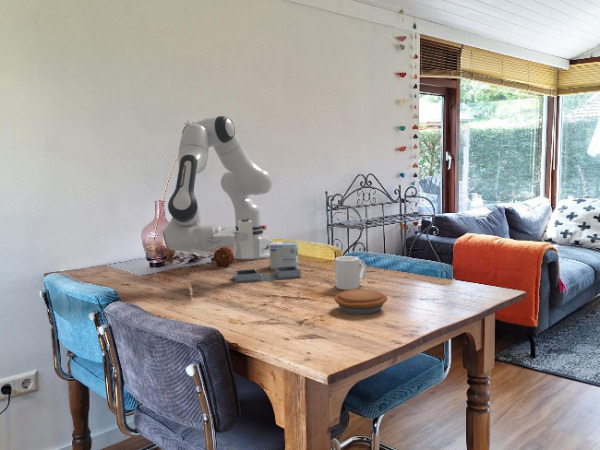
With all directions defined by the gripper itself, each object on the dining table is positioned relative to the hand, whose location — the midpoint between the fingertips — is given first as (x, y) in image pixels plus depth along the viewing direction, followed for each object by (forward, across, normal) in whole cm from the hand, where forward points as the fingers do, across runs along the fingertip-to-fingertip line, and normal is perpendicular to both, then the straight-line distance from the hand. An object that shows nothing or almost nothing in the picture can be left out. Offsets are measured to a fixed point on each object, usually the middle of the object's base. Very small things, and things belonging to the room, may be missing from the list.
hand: (248, 235), depth 204 cm
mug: (+35, -14, +17) cm, 42 cm away
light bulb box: (+13, +18, +18) cm, 29 cm away
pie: (+33, -43, +17) cm, 57 cm away
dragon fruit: (-12, +31, +18) cm, 38 cm away
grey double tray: (+6, +1, +17) cm, 18 cm away
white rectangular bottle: (-1, 0, +8) cm, 8 cm away
